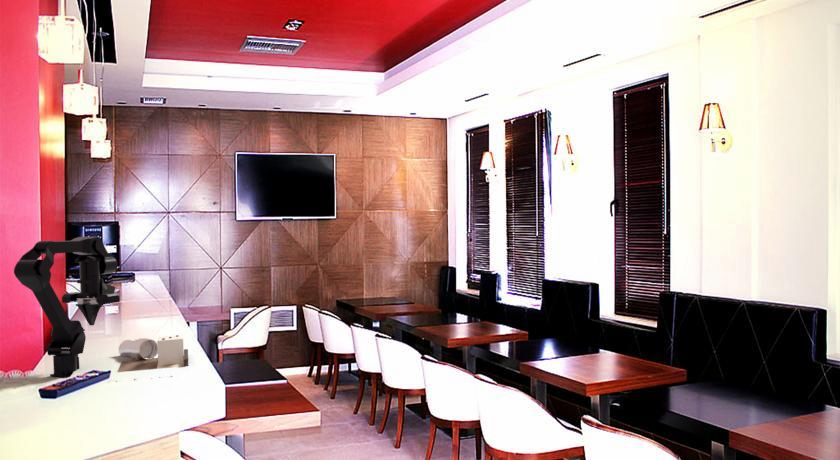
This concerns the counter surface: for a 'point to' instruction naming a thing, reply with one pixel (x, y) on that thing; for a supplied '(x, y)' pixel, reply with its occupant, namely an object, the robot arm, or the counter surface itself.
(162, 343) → the ivory die
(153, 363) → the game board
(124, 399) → the counter surface
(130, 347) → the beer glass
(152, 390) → the counter surface
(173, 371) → the counter surface
